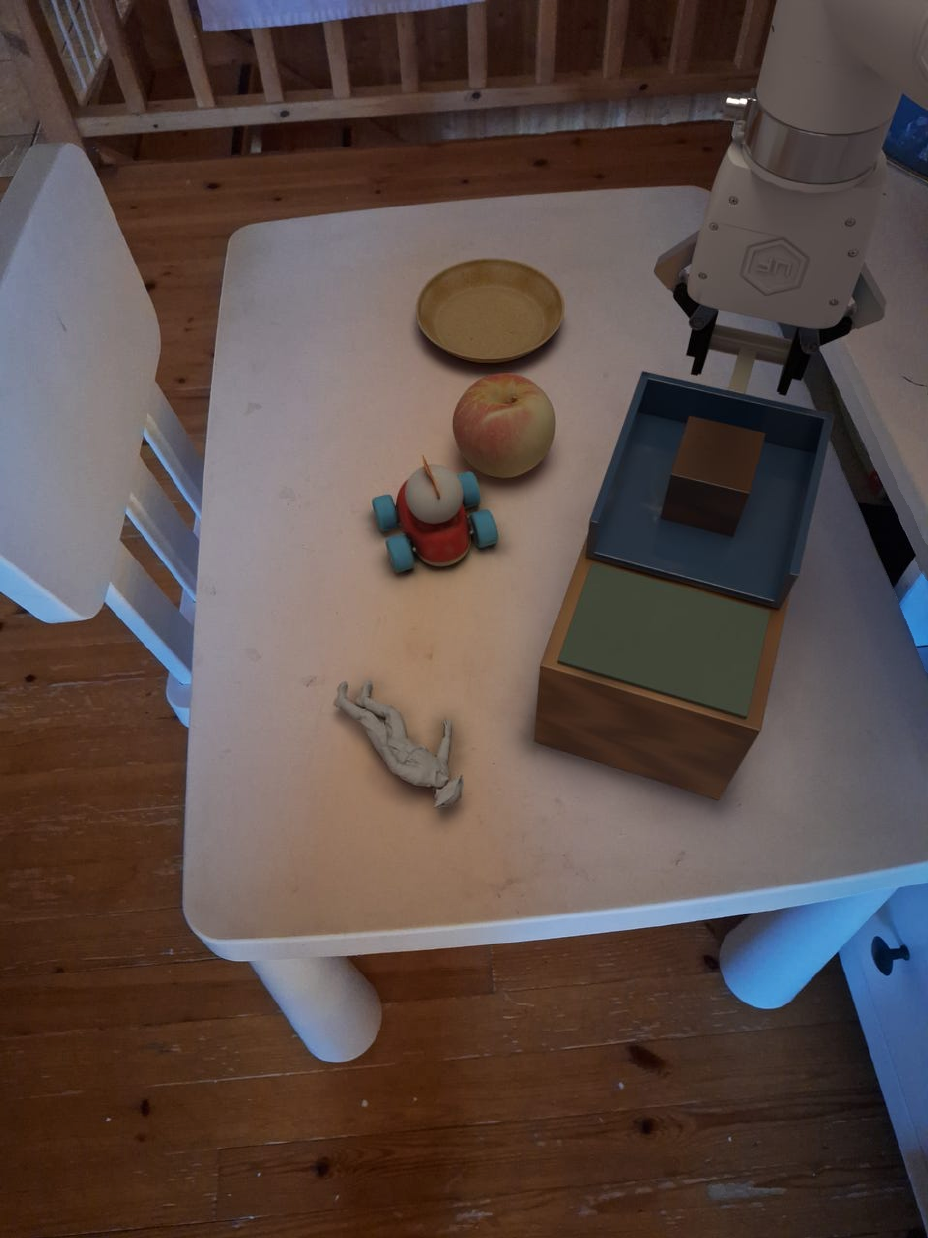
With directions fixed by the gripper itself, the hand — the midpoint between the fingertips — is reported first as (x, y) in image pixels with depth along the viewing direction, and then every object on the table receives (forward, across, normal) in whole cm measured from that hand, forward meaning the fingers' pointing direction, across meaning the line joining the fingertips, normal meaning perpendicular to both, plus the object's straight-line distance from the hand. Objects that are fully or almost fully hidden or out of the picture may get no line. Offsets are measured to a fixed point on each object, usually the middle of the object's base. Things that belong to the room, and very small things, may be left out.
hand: (742, 370), depth 66 cm
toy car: (+15, -21, -11) cm, 28 cm away
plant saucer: (+15, -25, +15) cm, 33 cm away
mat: (+3, 0, -22) cm, 22 cm away
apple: (+15, -18, -1) cm, 24 cm away
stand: (+15, 0, -15) cm, 21 cm away
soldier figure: (+15, -16, -31) cm, 38 cm away
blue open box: (+2, 0, -8) cm, 9 cm away
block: (+2, 0, -11) cm, 11 cm away
